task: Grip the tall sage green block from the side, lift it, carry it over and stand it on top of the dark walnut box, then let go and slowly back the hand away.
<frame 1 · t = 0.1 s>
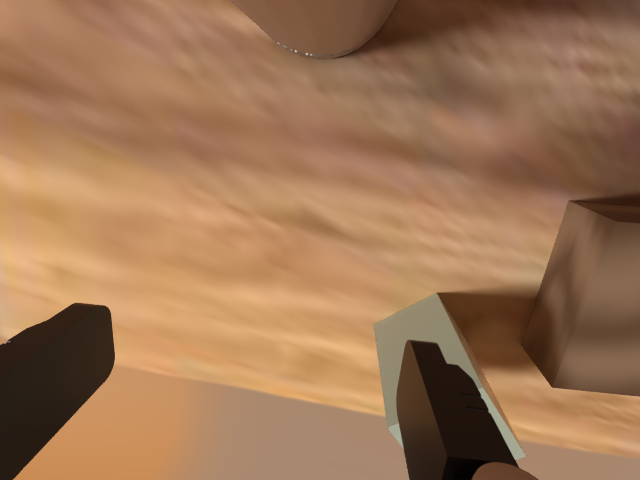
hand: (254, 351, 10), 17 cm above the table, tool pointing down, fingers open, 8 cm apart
tall sage green block: (421, 334, 29), on the table
walnut box: (622, 284, 27), on the table
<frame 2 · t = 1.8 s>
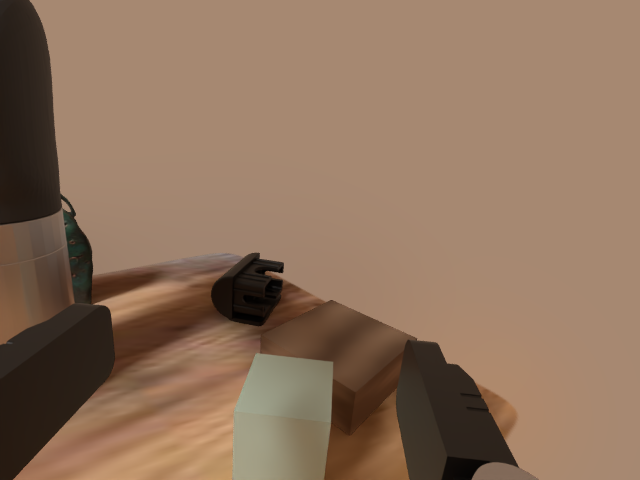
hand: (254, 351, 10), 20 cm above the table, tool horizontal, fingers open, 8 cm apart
end cap: (249, 308, 53), on the table
walnut box: (336, 375, 40), on the table
green animal figurine: (2, 320, 45), on the table
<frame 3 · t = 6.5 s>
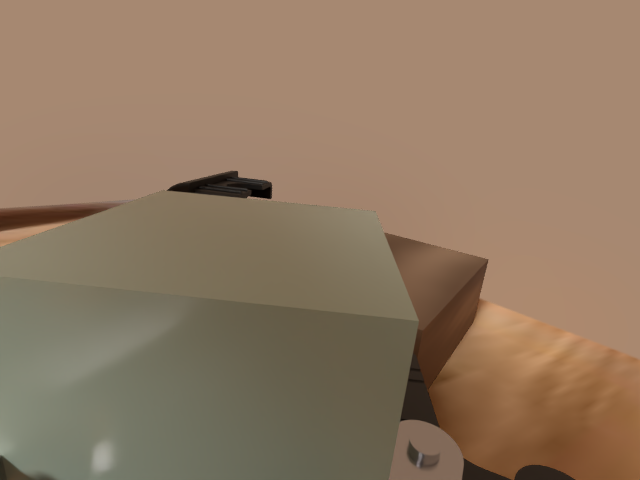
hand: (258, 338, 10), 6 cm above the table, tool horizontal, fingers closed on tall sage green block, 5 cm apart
end cap: (221, 246, 36), on the table
walnut box: (354, 327, 24), on the table
when the fingers open (12 cm above the table, at t = 12.5 s): tall sage green block drops 1 cm, resting on walnut box.
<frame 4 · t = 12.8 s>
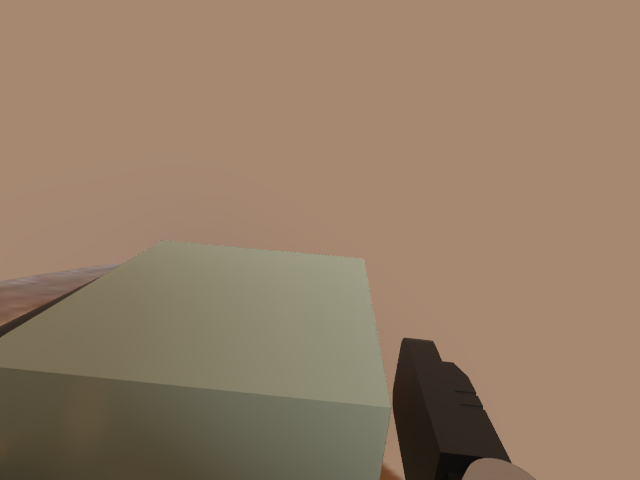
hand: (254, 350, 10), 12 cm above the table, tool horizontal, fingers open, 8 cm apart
end cap: (92, 394, 24), on the table
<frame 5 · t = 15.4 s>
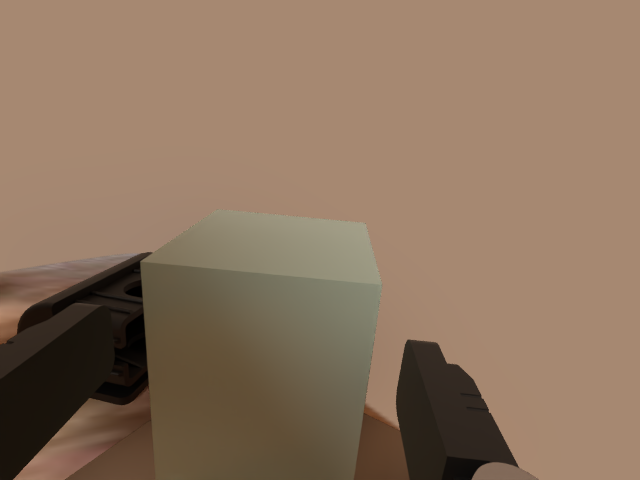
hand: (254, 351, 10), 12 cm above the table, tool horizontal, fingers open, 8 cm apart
end cap: (126, 358, 28), on the table
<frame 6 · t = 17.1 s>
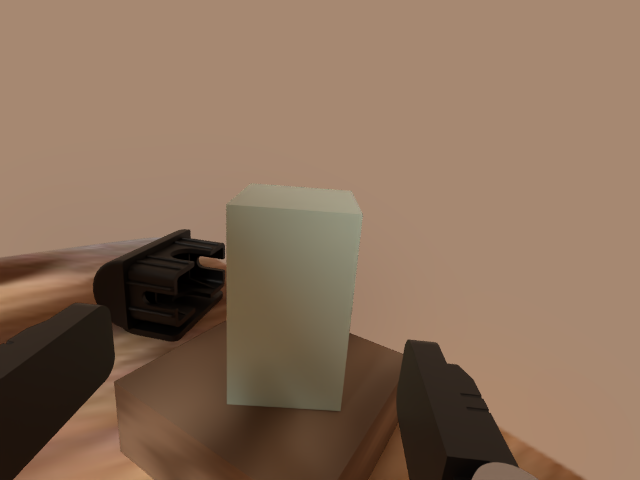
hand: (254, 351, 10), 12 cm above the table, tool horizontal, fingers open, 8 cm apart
end cap: (169, 312, 35), on the table
tall sage green block: (288, 371, 21), point 5 cm above the table, touching walnut box
walnut box: (274, 437, 22), on the table, touching tall sage green block
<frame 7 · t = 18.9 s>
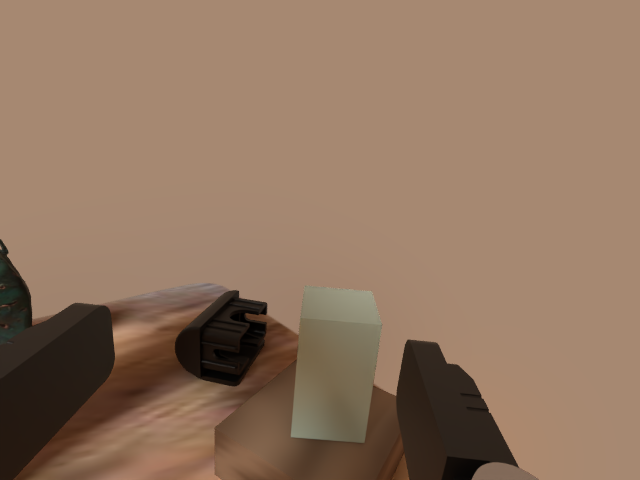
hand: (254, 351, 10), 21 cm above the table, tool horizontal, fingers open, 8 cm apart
end cap: (225, 359, 44), on the table
tall sage green block: (327, 413, 30), point 5 cm above the table, touching walnut box
walnut box: (317, 462, 31), on the table, touching tall sage green block
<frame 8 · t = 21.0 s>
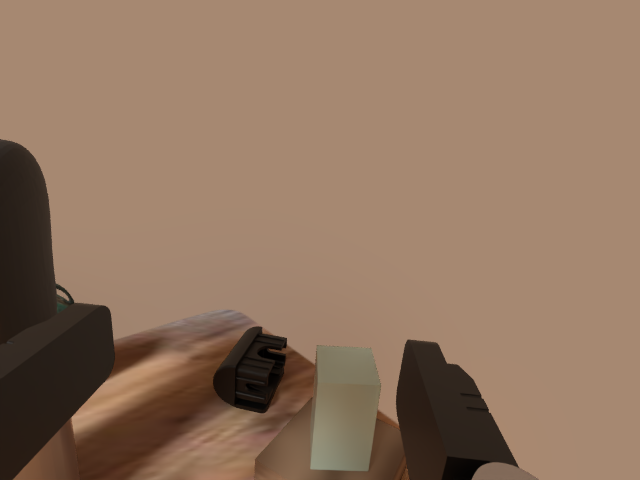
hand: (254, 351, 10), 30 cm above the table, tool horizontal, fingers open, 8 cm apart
end cap: (251, 387, 52), on the table
tall sage green block: (337, 445, 38), point 5 cm above the table, touching walnut box
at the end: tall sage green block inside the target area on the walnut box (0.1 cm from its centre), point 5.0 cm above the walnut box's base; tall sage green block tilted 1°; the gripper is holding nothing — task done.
